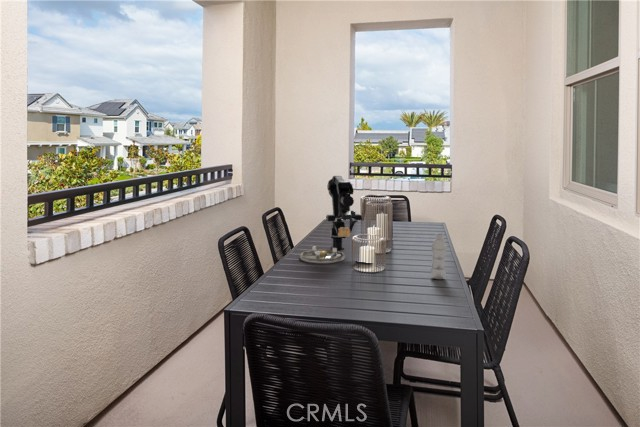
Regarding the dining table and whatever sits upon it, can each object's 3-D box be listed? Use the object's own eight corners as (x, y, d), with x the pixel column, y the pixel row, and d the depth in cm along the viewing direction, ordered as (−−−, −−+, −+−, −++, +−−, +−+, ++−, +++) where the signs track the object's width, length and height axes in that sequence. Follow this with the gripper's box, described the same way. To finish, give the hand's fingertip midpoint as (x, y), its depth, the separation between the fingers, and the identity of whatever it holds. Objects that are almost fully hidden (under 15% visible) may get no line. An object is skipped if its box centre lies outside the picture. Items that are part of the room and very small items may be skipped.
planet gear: (336, 234, 262) (336, 227, 262) (348, 234, 264) (348, 226, 263) (339, 236, 256) (339, 228, 255) (351, 236, 257) (351, 228, 257)
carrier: (297, 254, 262) (297, 244, 261) (339, 252, 266) (339, 243, 265) (303, 264, 240) (303, 254, 239) (348, 262, 244) (348, 252, 243)
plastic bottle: (433, 276, 219) (434, 232, 216) (447, 278, 215) (449, 234, 212) (427, 279, 214) (429, 235, 211) (442, 281, 210) (444, 236, 207)
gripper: (330, 206, 248) (330, 236, 250) (365, 205, 252) (364, 235, 254) (325, 204, 259) (325, 233, 261) (359, 203, 263) (359, 231, 265)
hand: (343, 233), depth 260 cm, fingers closed on planet gear, 7 cm apart
